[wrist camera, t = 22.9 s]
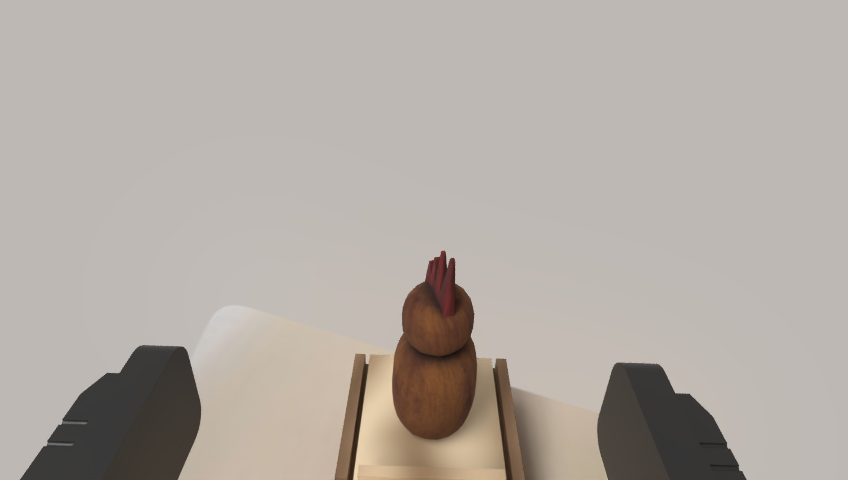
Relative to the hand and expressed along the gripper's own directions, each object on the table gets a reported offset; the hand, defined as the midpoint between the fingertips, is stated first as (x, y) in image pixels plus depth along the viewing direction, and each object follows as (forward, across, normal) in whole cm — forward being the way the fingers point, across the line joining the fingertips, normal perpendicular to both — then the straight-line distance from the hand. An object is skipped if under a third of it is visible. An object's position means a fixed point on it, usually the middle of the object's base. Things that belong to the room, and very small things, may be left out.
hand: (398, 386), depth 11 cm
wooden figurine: (+20, -2, +25) cm, 32 cm away
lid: (+20, -2, +25) cm, 32 cm away
